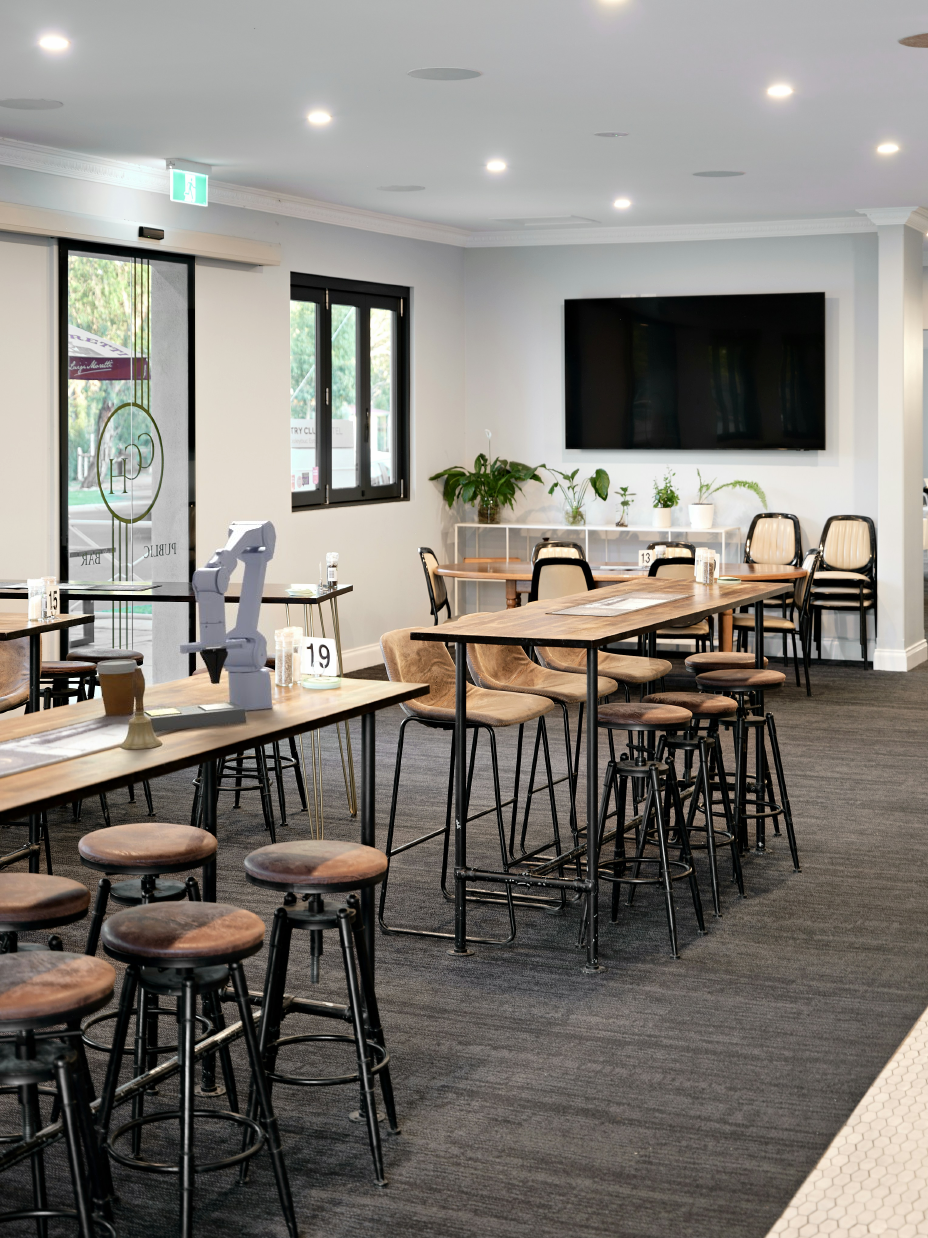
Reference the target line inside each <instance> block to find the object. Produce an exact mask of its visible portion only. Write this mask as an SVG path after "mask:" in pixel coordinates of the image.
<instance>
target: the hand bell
mask: <svg viewBox="0 0 928 1238" xmlns="http://www.w3.org/2000/svg"><path fill="white" fill-rule="evenodd" d="M132 688H133V693H134V696H135V699H134V710H135V711H136V712H135V713H134V717H133V718H130V719H129V721H128V729H127V735H126V737H125V739H124V740H123V741H122V743H121V744H120V748H121V749H124V750H143V749H153V748H157V747H161V746H162V745H163V742H162V741H161V740H160V739H159V738H158V736H157V735H156V733H155V732H154V731H153V727H152V723H151V719H150V718H147V717H145V716H144V710H145V709H144V695H145V691H146V679H145V676H144V673H143V669H142V667H138V668H135V671H134V675H133V679H132Z"/></svg>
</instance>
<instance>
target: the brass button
mask: <svg viewBox="0 0 928 1238" xmlns="http://www.w3.org/2000/svg"><path fill="white" fill-rule="evenodd" d="M171 708H172V709H163V708H161V709H162V710H153V709H151V710H152V711H145V713H146V714H147V715H148V716H150V717H153V716H163V715H173V714H181V713H180V712H179V711H177V710H175V709H174V708H173V707H171Z"/></svg>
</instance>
